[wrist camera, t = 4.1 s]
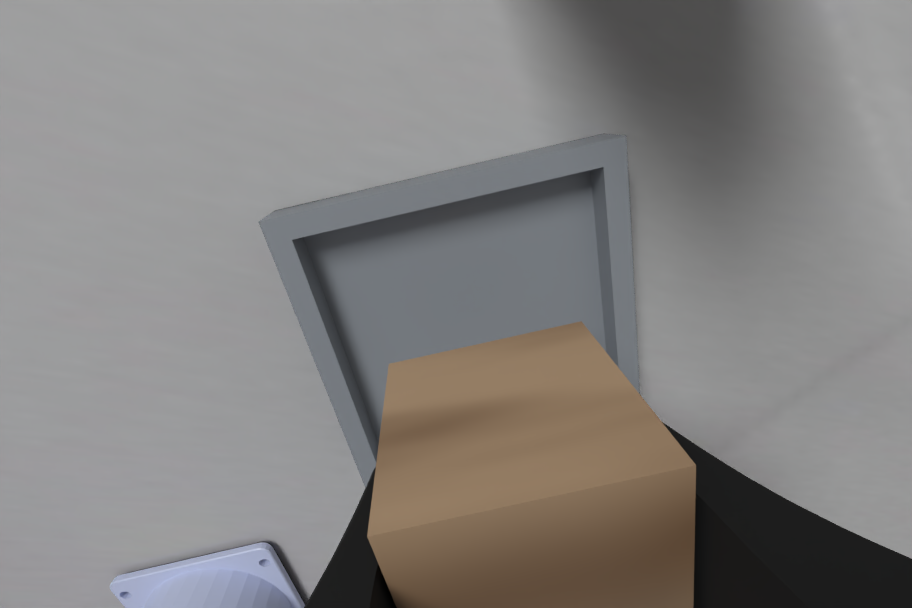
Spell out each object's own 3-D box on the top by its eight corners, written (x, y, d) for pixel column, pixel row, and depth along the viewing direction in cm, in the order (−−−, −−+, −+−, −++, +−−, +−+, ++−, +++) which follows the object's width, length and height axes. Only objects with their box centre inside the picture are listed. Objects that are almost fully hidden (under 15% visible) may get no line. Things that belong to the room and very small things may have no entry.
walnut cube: (596, 468, 13) (692, 658, 8) (432, 504, 13) (440, 712, 9) (581, 321, 11) (696, 465, 6) (388, 363, 11) (366, 536, 7)
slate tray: (623, 404, 20) (641, 429, 19) (371, 462, 20) (367, 493, 19) (603, 133, 16) (626, 135, 14) (274, 210, 16) (258, 221, 14)
